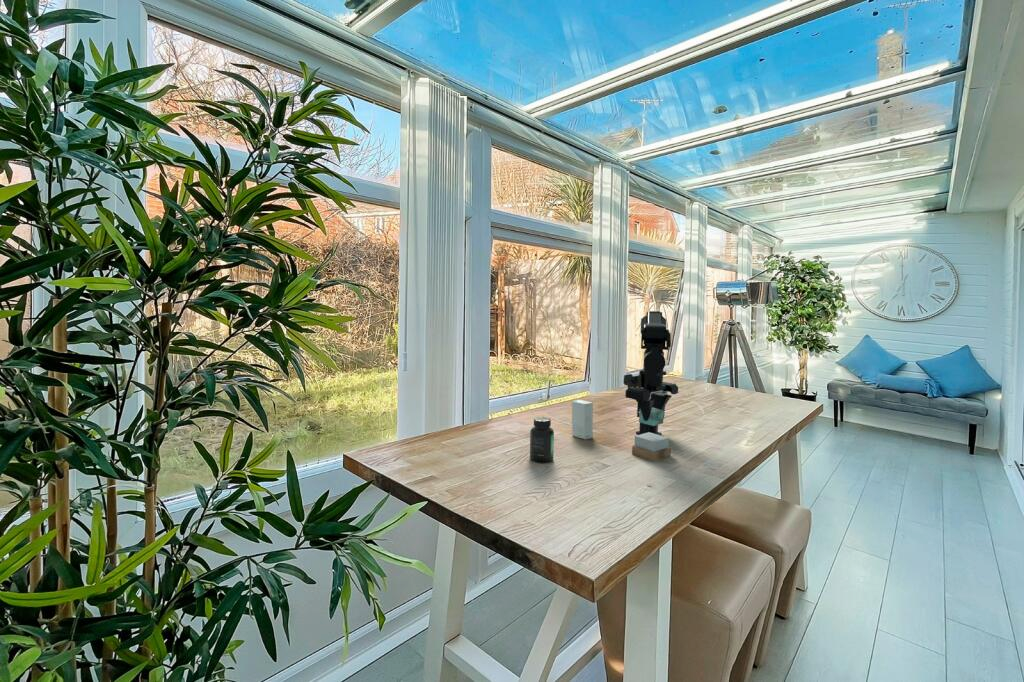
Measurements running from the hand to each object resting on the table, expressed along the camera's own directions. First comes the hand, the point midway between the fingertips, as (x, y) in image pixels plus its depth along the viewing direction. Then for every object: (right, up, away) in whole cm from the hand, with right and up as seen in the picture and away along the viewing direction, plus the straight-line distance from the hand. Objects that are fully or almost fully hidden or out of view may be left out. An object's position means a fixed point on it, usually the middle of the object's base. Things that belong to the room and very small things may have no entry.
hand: (651, 419), depth 137 cm
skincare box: (-18, -9, +18) cm, 27 cm away
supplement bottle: (-33, -11, -4) cm, 35 cm away
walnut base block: (0, -11, +1) cm, 11 cm away
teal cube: (0, -1, 0) cm, 1 cm away
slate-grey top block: (0, -8, +1) cm, 8 cm away
